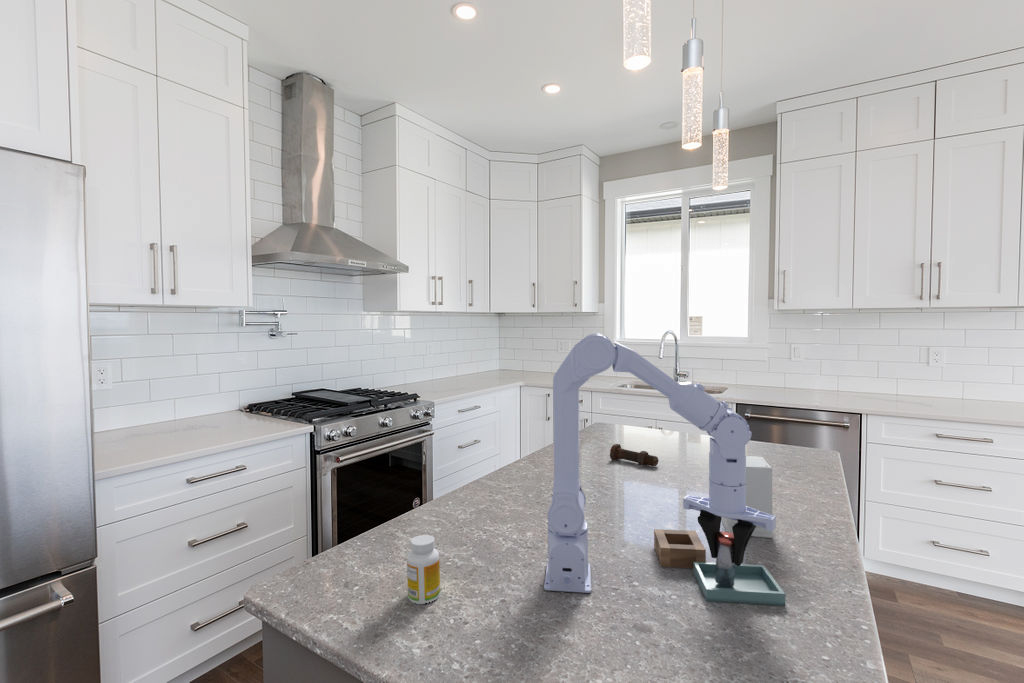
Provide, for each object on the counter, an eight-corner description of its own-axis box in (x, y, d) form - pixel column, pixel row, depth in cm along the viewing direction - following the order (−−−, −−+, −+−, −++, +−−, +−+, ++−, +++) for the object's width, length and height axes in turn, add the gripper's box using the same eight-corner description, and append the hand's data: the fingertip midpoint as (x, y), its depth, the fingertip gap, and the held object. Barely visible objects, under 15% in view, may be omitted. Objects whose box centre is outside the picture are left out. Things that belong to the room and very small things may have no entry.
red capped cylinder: (738, 588, 80) (741, 540, 80) (717, 586, 81) (720, 538, 80) (731, 578, 84) (734, 532, 83) (711, 576, 84) (713, 530, 84)
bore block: (705, 569, 88) (705, 549, 88) (660, 566, 90) (660, 547, 89) (695, 548, 96) (695, 530, 96) (654, 546, 98) (654, 529, 97)
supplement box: (763, 521, 109) (763, 455, 108) (773, 539, 100) (773, 467, 99) (720, 517, 111) (720, 453, 110) (726, 534, 102) (726, 465, 102)
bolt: (655, 474, 149) (612, 463, 159) (661, 463, 152) (619, 453, 162) (651, 460, 146) (608, 450, 156) (658, 449, 149) (615, 440, 159)
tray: (785, 606, 77) (785, 593, 77) (706, 601, 78) (706, 589, 78) (763, 576, 86) (763, 565, 86) (693, 572, 87) (693, 561, 87)
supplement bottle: (442, 586, 84) (440, 532, 84) (438, 604, 79) (436, 546, 78) (411, 587, 84) (409, 533, 84) (405, 606, 79) (403, 547, 78)
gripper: (781, 484, 79) (780, 564, 80) (694, 467, 89) (694, 538, 90) (768, 496, 74) (768, 582, 75) (678, 476, 84) (678, 552, 85)
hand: (727, 559), depth 82 cm, fingers closed on red capped cylinder, 3 cm apart
